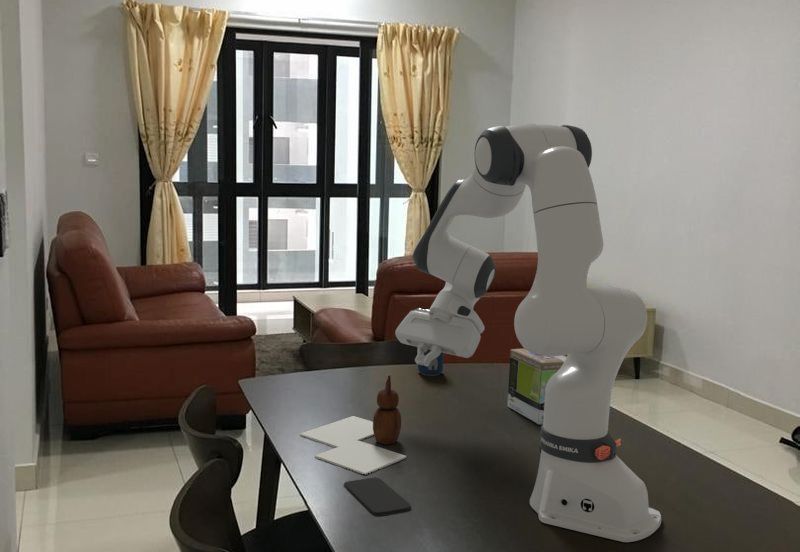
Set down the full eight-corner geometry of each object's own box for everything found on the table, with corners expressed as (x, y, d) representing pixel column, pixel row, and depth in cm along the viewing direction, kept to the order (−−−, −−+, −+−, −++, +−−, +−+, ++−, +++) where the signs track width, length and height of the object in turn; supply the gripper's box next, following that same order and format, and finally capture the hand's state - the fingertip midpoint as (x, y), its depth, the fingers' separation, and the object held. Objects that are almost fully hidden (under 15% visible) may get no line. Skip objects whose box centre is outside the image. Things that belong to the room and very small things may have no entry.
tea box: (575, 422, 198) (579, 360, 195) (537, 426, 194) (541, 363, 192) (541, 403, 211) (544, 345, 209) (505, 406, 208) (508, 347, 205)
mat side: (406, 457, 172) (406, 455, 171) (365, 475, 162) (365, 473, 162) (356, 441, 180) (356, 440, 180) (314, 457, 170) (314, 455, 170)
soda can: (431, 368, 241) (432, 327, 239) (447, 374, 236) (449, 331, 234) (412, 372, 237) (413, 330, 235) (429, 377, 231) (430, 334, 230)
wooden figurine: (396, 448, 177) (398, 378, 174) (369, 445, 178) (371, 376, 176) (403, 437, 183) (405, 370, 181) (377, 435, 184) (378, 368, 182)
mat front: (391, 428, 189) (391, 427, 189) (338, 448, 176) (338, 446, 176) (353, 417, 196) (353, 415, 196) (299, 435, 183) (299, 433, 183)
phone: (378, 476, 161) (413, 506, 147) (378, 480, 161) (413, 511, 147) (341, 482, 157) (374, 513, 144) (341, 486, 157) (374, 518, 144)
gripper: (407, 299, 197) (378, 347, 191) (480, 312, 185) (452, 364, 179) (418, 315, 201) (390, 362, 196) (491, 329, 189) (463, 380, 183)
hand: (420, 363), depth 187 cm, fingers closed
